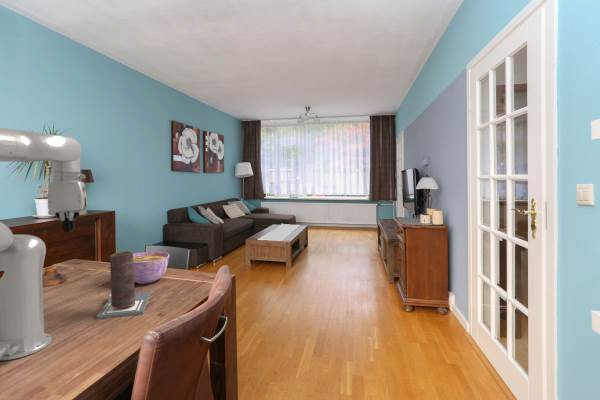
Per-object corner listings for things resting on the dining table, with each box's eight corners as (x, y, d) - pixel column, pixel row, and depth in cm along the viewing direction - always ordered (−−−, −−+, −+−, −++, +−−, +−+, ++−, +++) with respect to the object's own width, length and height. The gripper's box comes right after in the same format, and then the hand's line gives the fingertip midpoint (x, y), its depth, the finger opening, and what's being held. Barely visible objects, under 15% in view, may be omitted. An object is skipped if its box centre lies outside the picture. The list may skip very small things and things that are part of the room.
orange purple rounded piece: (62, 285, 134) (61, 269, 134) (28, 289, 130) (27, 272, 129) (70, 278, 145) (70, 262, 145) (39, 280, 141) (38, 265, 140)
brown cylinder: (124, 312, 105) (122, 255, 104) (105, 310, 106) (104, 253, 105) (139, 303, 112) (138, 250, 111) (122, 301, 114) (121, 249, 113)
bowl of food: (179, 279, 145) (178, 255, 144) (138, 291, 127) (137, 264, 127) (153, 272, 155) (152, 249, 154) (112, 283, 138) (111, 258, 137)
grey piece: (142, 313, 107) (142, 304, 106) (96, 319, 102) (96, 309, 102) (150, 293, 125) (150, 285, 125) (111, 297, 121) (111, 289, 121)
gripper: (96, 178, 108) (97, 229, 109) (44, 177, 103) (47, 231, 104) (89, 178, 101) (90, 232, 102) (33, 177, 96) (36, 234, 97)
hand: (68, 231), depth 103 cm, fingers closed
